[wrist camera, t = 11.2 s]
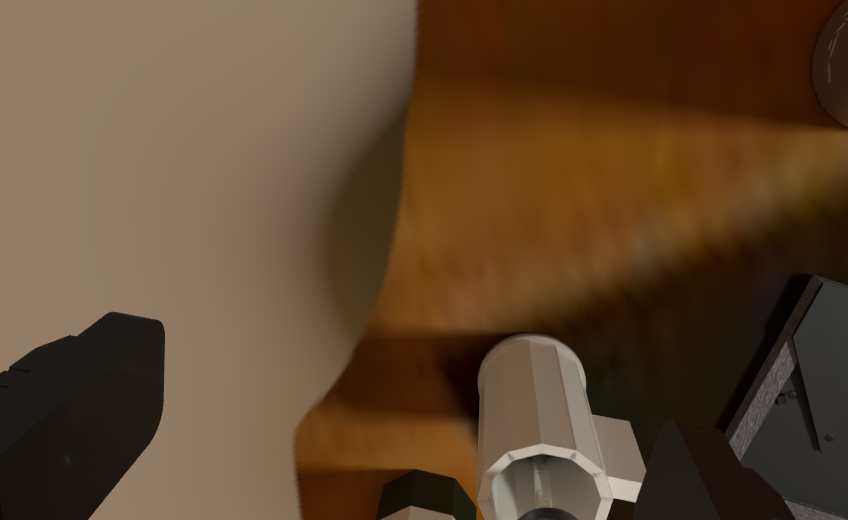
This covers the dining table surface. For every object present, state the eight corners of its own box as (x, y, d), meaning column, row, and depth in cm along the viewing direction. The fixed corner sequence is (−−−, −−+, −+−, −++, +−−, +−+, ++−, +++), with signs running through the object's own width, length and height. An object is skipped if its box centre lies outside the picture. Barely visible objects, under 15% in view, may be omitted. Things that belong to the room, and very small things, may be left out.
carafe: (629, 350, 47) (677, 465, 35) (601, 439, 50) (637, 575, 37) (489, 323, 47) (488, 428, 35) (469, 414, 50) (462, 540, 38)
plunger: (583, 395, 42) (620, 543, 30) (564, 461, 44) (592, 624, 32) (504, 380, 42) (510, 521, 31) (489, 446, 44) (488, 603, 32)
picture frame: (809, 271, 44) (695, 477, 50) (823, 283, 42) (703, 494, 49) (996, 330, 44) (858, 528, 51) (1018, 344, 42) (872, 547, 49)
